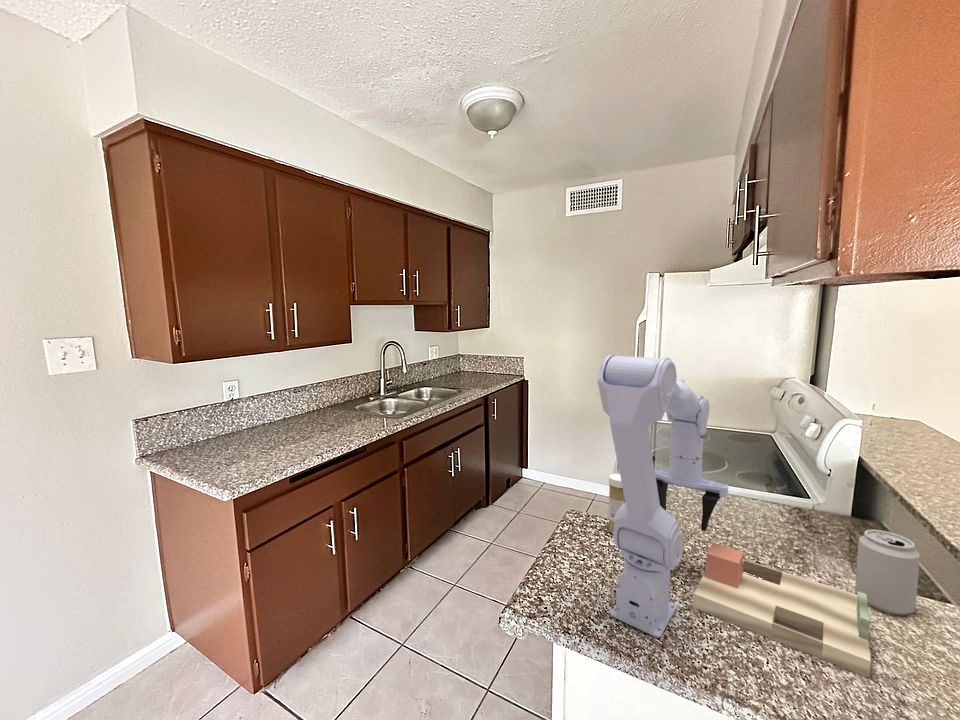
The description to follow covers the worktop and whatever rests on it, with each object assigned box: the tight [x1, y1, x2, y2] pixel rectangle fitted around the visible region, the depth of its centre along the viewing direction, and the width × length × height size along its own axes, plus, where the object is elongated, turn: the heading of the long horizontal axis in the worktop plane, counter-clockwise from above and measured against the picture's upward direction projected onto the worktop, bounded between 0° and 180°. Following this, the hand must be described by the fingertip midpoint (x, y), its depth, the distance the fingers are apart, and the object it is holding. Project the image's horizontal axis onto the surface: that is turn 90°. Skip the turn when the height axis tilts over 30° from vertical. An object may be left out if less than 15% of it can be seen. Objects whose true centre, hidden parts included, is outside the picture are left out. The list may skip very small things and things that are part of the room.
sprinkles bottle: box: [607, 473, 626, 535], centre depth 96 cm, size 5×5×14 cm
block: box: [705, 542, 745, 589], centre depth 75 cm, size 5×5×4 cm
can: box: [854, 529, 921, 616], centre depth 71 cm, size 8×8×12 cm
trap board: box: [692, 558, 872, 679], centre depth 70 cm, size 18×22×6 cm
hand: (682, 522), depth 81 cm, fingers open, 7 cm apart
